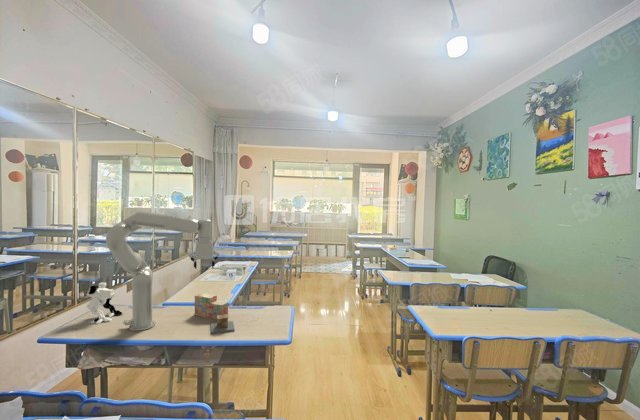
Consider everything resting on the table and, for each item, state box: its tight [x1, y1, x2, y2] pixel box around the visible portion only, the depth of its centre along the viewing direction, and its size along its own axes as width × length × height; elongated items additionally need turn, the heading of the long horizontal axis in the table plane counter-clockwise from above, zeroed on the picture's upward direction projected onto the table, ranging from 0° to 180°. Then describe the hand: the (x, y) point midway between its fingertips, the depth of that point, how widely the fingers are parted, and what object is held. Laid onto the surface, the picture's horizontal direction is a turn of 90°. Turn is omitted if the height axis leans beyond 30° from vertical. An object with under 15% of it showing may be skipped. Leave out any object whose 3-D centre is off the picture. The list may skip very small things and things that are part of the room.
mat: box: [210, 320, 235, 335], centre depth 168 cm, size 12×12×1 cm
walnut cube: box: [216, 314, 229, 329], centre depth 168 cm, size 6×6×6 cm
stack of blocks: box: [194, 292, 229, 320], centre depth 185 cm, size 21×6×12 cm, turn 66°
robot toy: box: [86, 282, 123, 325], centre depth 179 cm, size 19×14×20 cm
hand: (204, 267), depth 182 cm, fingers open, 9 cm apart
